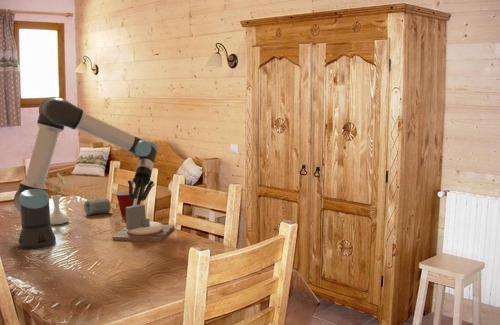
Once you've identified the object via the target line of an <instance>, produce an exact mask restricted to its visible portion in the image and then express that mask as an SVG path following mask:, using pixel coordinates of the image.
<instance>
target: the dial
mask: <svg viewBox="0 0 500 325" xmlns="http://www.w3.org/2000/svg"><path fill="white" fill-rule="evenodd" d="M125 220H126V221H125V222H126V224H125V225H126V226H125V227H126V229H127V233H129V234H133V235H149V234H154V233H158V232H160V231H161V230H162V225H163V224H162V223H161V222H157V221H151V220H150V217H149V218H147V217H146V204H142V203H140V205H135V206H130V207H126V216H125Z"/></svg>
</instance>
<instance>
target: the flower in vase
mask: <svg viewBox="0 0 500 325" xmlns="http://www.w3.org/2000/svg"><path fill="white" fill-rule="evenodd" d="M56 176H57V179H58V180H59V181H58V183H57V185H56V188H55V189H54V190H53V192H52V193H53V194H55V195H51V196H50V198H51V199H52V201H53V208H54V209H53V211H52V213H50V225H61V224H65V223H67V222H69V221H70V217H69V216H68V215H67V214H66V213H64V212H62V211H61V210H60V200H61V197H62V195H60V194H57V193H61V188H60V187H58V186H59V184H61V185H62V186H63V187H67V186H68V185H67V184H68V183H67V182H66V179H65V178H64V177H63V175H61V173H60V172H57V173H56Z"/></svg>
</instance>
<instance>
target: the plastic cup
mask: <svg viewBox="0 0 500 325" xmlns="http://www.w3.org/2000/svg"><path fill="white" fill-rule="evenodd" d="M133 194H134V191H133ZM115 196H116V198H117V202H118V205H119V206H118V207H119V210H120V214H121V216H123V217H126V207H130V206H132V205H131V203H132V200H131V199H130V197H129V191H120V192H115Z"/></svg>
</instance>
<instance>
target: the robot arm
mask: <svg viewBox="0 0 500 325" xmlns="http://www.w3.org/2000/svg"><path fill="white" fill-rule="evenodd" d="M38 114H39V115H38V119H37V121H36V124H37V126H38V131H37V135H36V137H35V138H36V139H35V143H34V145H33V146H34V147H33V150H32V153H31V156H30V160H29V162H28V163H29V164H28V167H27V171H26V175H25V177H24V180H22V181H20V182H19V185H18V189H17V191H16V192H15V193H14V197H13V203H14V207H15V208H16V210H17V211H18V212H19V213H20V221H21V222H20V224H21V230H20V233H19V237H18V245H17V246H18V248H19V249H21V250H28V251H29V250H30V251H34V250H42V249H45V248H50V247H53V246H54V245H56V244H57V239H56V235H55V233H54V231H53V228H52V224H50V215H51V213H50V212H51V211H50V197H49V193H48V192H47V191H48V187H47V186H46V180H47V177H48V175H49V174H48V173H49V171H50V166H51V164H52V159H53V155H54V152H55V148H56V145H57V141H58V138H59V134H60V133H61V132H63V131H64V130H65V127H66V128H68V129H71V130H79V131H82V132H84V133H86V134H89V135H91V136H93V137H96V138H98V139H100V140H102V141H105V142H107V143H109V144H111V145H113V146H116V147H118V148H121V149H122V150H124V151H125V152H128V153H129V154H132V155H134V156H135V157H137V158H139V159H138V163H137V166H136V170H135V174H134V177H133V179H132V180H127V183H128V192H129V197H130V199H131V200H132V203H131V205H132V206H135V205H140V204H142V201H146V200H147V197H148V196H149V194H150V192H151V190H152V188H153V187H154V186H155V183H154V180H151V179H152V173H153V170H154V166H155V165H154V164H155V161H156V157H157V154H158V144H156V143H155V142H153V141H152V142H151V141H149V140H148V141H147V140H145V139H141V138H139V137H137V136H135V135H133V134H131V133H130V132H129V133H128V132H126V131H124V130H122V129H120V128H118V127H116V126H113V125H112V124H109V123H107V122H105V121H103V120H100V119H98V118H96V117H94V116H93V115H90V114H88V113H85V111H84V109H82V108H80V107H78V106H76V105H75V104H73V103H71V102H70V101H68V100H67V99H64V98H62V97H56V96H53V97H52V96H51V97H48V98H45V99H44V100H42V102H41V103H40V105H39V107H38ZM134 186H135V187H134ZM133 192H134V194H133Z"/></svg>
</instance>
